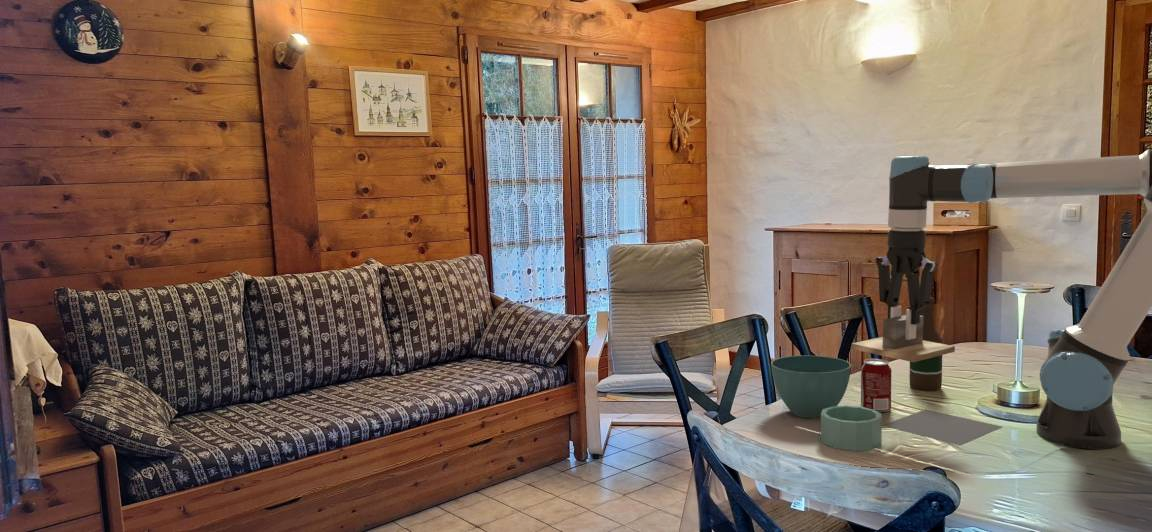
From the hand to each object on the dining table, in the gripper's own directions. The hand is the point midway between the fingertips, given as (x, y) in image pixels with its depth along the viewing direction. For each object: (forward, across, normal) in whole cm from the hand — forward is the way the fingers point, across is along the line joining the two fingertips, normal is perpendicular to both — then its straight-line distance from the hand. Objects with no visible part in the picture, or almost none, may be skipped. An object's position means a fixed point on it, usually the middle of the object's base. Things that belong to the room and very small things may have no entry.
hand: (902, 337), depth 174 cm
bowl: (+21, +3, +13) cm, 25 cm away
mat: (+21, -4, -9) cm, 23 cm away
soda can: (+22, +13, -10) cm, 27 cm away
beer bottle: (+22, +17, -37) cm, 46 cm away
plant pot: (+22, +21, +4) cm, 31 cm away
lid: (+3, 0, 0) cm, 3 cm away
